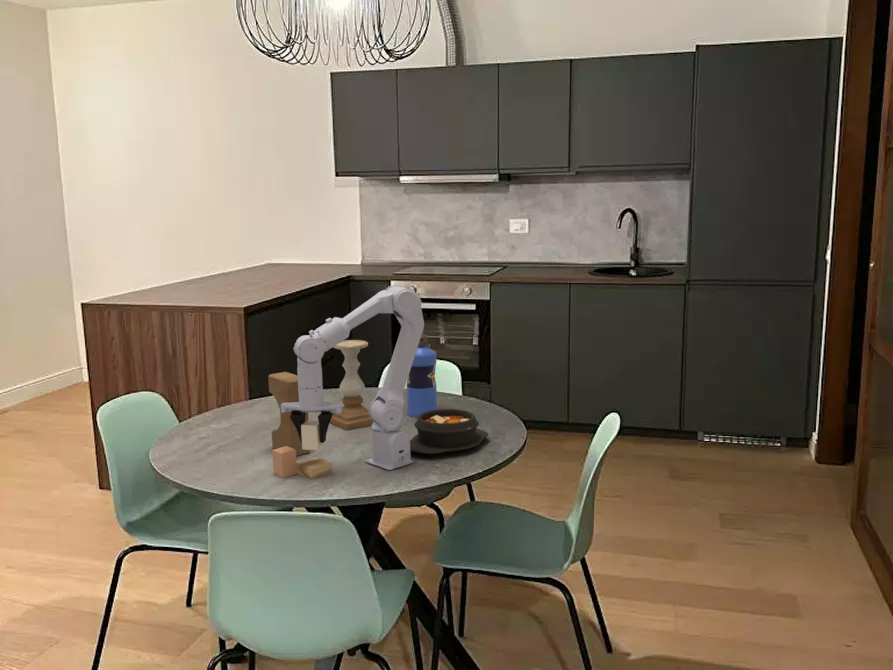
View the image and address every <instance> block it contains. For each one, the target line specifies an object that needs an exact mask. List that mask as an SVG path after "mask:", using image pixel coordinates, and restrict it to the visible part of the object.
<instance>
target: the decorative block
mask: <svg viewBox="0 0 893 670" xmlns="http://www.w3.org/2000/svg"><path fill="white" fill-rule="evenodd" d="M267 377H268V378H267V379H268V392H269V393H270V394H272V395H273V396H274V399H275V400H276V403H277V405H278V408H279V413H280V415H279V416H280V422H279V426H278V428H277V429H272V431H271V443H272V444H271V445H272V446H271V447H272V448H273V449H278V448H281V447H285V446H288V447H290V448H293V449H295V450H296V457H298V456H302V455H306V454H309V453H310V452H311V450H305V449H302V442H300V438H299V434H298V432H297V429H296V427H295V425H294V424H293V422H292V421H291V419H290V415H291V412H285V413H281V404H283V403H292V402H299V391H298V374H297V375H296V374H294V373H290V372H287V371H283V372H276V373H271V374H269V375H268V376H267ZM308 420H309V412H306V417H305V422H306V421H308Z"/></svg>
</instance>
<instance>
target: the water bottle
mask: <svg viewBox="0 0 893 670" xmlns="http://www.w3.org/2000/svg"><path fill="white" fill-rule="evenodd" d="M427 337H428V336H427V335H426V334H425V333H424V331H423V332H422V335H421V338H420V341H419V344H418V347H417V351H416V354H415V357H414V360H413V363H412V366H411V369H410V373H409V376H408V379H407V382H406V414H407V415H406V416H408V417H409V416H410V417H409V418H413V417H416V418H415V419H418V416H419V415H420V414H422V413H424V412H427V411H431V410H438V397H437V393H438V392H437V381H436V366H437V351H436V350H434V349H431V348H429V347H428V345H429V344H428V339H426V338H427Z"/></svg>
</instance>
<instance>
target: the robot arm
mask: <svg viewBox="0 0 893 670" xmlns="http://www.w3.org/2000/svg"><path fill="white" fill-rule="evenodd" d="M422 303H423V302H422V299H421V298H420V297H419V295H418V294H417V293H416V292H415V290H413V289H411V288H406V287H402V286H401V285H398V284H392V285H389V286H388V287H387V288H385V289H382V290H380V291H379V292H377V293H376V294H375V295H373V296H372V297H371V298H369V299H368V300H367V301H365V302H363V303H362V304H361V305H359V306H358V307H357V308H355V309H354V310H352V311H351V312H349V313H348V314H347V315H345V316H344V317H337V316H334V317H333V318H331V317H328V318H326V319H325V323H324V324H322V325H320V326H319V327H317V328H315V330H313V329H311V330H309V331H308V333H309V334H307V335H301V336H300V337H298V338H297V339H296V342H295V343H294V347H293V352H294V354H295V355H296V357H297V358H296V361H297V369H296V371H297V376H298V391H299V402H292V403H283V404H281V413H285V412H291V415H290V419H291V421H292V422H293V424H294V425H295V427H296V429H297V432H298V434H299V438H300V442H302V435H301V425H302V424H303V423H305V417H306V412H308V413H319V414H318V415H317V421H319V426H320V442H321V443H324V444H325V442H326V439H327V433H328V429H329V425H330V424H331V423H330V420H331V418H332V416H333V413H336V414H340V413H341V412H342V407H343V403H335V402H328V401H327V402H326V401H324V388H323V368H322V367H323V366H322V358H323V357H324V355H325V352H328V351H329V350H331V349H332V348H333V347H334V346H335V345H337V344H339V343H340V342H342V341H345V340H347V339H348V338H349V336H350V332H351V330H352V329H355V328H356V327H358V326H359V325H361V324H363V323H365V322H366V321H368V320H369V319H371V318H373V317H375V316H377V315H378V314H393V315H395V317H396V319H397V320H398V323H399V324H400V331H399V334H398V337H397V341H396V344H395V347H394V349H393V354H392V356H391V359H390V362H389V366H388V369H387V372H386V375H385V379H384V381H383V384H382V387H381V388H380V389H379V390H378V391H377V393H376V395H375V397H374V399H373V400H372V401H370V403H369V406H368V408H367V409H368V412H369V416H370V417H371V418H372V419H373V424H372V425H371V444H372V445H371V447H372V457H370V458H367V459H365V463H367V464H370V465H373V466H376V467H377V468H378V467H379V468H382V469H385V470H387V471H392V470H394V469H398V468H400V467H401V468H402V467H404V466H406V465H410V464H413V463H414V460H413V459H411V450H410V440H411V439H410V436H409V435H408V434H407V433H406V432H405V431H403V430H402V427H401V425H402V424H403V421H404V411H403V410H404V406H405V399H404V391H405V389H406V386H407V379H408V376H409V373H410V369H411V366H412V363H413V360H414V357H415V354H416V351H417V347H418V344H419V341H420V338H421V335H422V332H423V333H424V328H425V321H424V315H423V310H422Z"/></svg>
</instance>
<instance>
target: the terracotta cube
mask: <svg viewBox="0 0 893 670" xmlns="http://www.w3.org/2000/svg"><path fill="white" fill-rule="evenodd" d="M272 467H273V474H274V475H276V476H278V477H280V478H286V477H290V476H294V475H296V474H297V456H296V450H295V449H293V448H290V447H288V446H285V447H281V448H278V449H275V448H273V449H272Z"/></svg>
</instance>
